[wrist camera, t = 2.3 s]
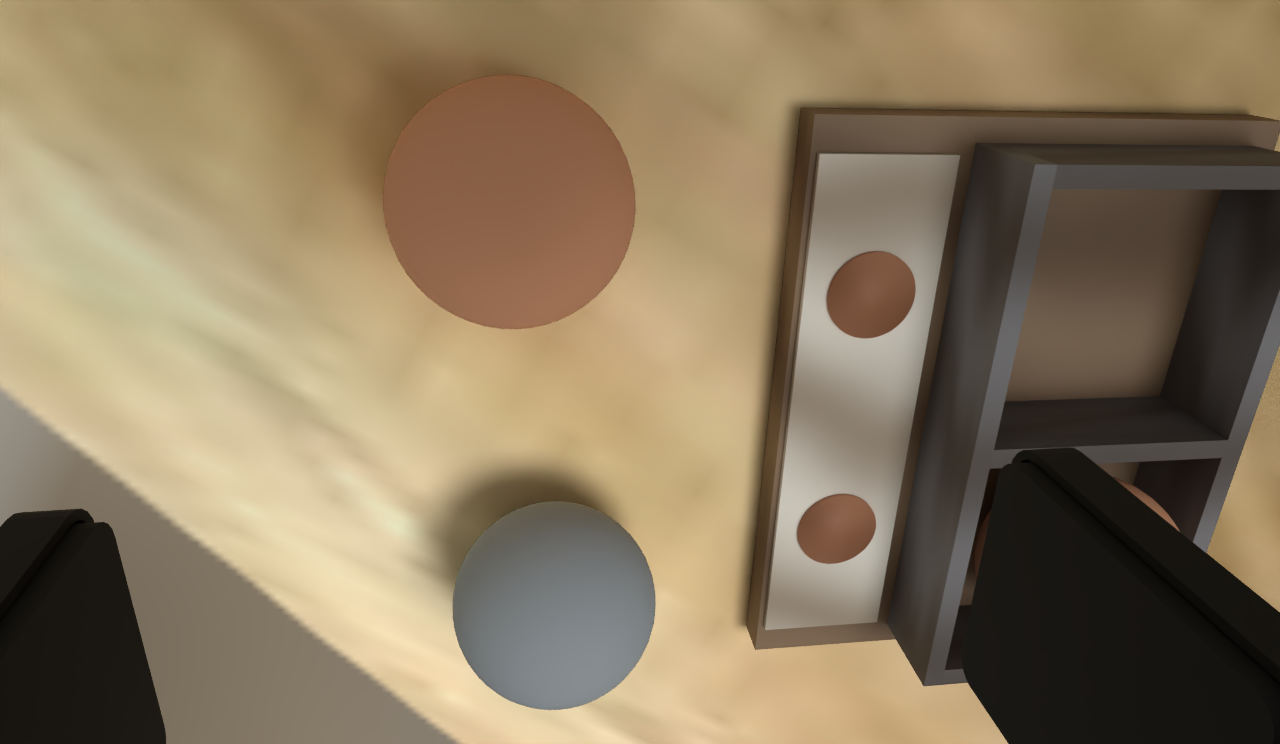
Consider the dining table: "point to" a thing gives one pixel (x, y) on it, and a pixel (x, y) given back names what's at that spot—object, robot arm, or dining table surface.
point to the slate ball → (554, 605)
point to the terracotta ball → (509, 202)
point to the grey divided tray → (1000, 345)
